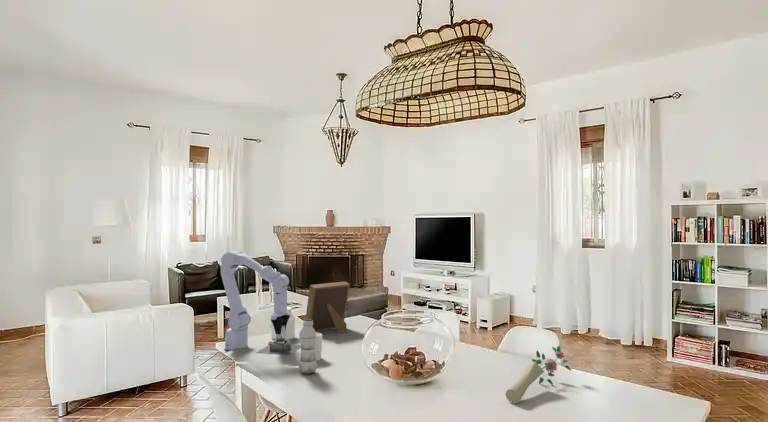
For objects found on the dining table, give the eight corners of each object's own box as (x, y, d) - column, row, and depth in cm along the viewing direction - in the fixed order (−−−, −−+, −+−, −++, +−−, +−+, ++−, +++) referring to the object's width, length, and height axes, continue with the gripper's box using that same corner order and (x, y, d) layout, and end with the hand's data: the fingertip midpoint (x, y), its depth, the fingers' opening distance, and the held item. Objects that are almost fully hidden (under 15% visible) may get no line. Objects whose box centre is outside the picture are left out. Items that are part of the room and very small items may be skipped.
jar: (267, 339, 235) (267, 308, 236) (280, 335, 244) (280, 305, 244) (284, 342, 229) (284, 311, 230) (298, 338, 238) (298, 307, 238)
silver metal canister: (274, 344, 214) (274, 326, 214) (278, 342, 218) (278, 324, 218) (282, 345, 213) (282, 326, 213) (286, 342, 217) (286, 324, 217)
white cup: (320, 361, 200) (320, 337, 201) (301, 361, 201) (301, 337, 201) (323, 355, 208) (323, 332, 208) (305, 355, 208) (305, 332, 209)
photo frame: (303, 331, 251) (304, 283, 251) (338, 325, 265) (339, 280, 265) (319, 337, 240) (319, 287, 240) (354, 331, 253) (355, 283, 253)
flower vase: (506, 422, 159) (546, 372, 186) (540, 421, 151) (576, 369, 178) (492, 388, 160) (534, 343, 186) (525, 385, 152) (564, 339, 178)
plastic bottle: (313, 376, 182) (313, 322, 182) (296, 374, 183) (296, 322, 184) (319, 370, 188) (319, 319, 188) (302, 369, 190) (302, 318, 190)
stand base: (255, 355, 209) (255, 344, 209) (271, 345, 225) (271, 335, 225) (289, 357, 206) (289, 346, 206) (304, 347, 221) (304, 337, 221)
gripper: (281, 305, 208) (281, 337, 207) (295, 299, 222) (295, 329, 222) (266, 304, 209) (266, 336, 209) (281, 299, 223) (281, 328, 223)
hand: (280, 332), depth 215 cm, fingers closed on silver metal canister, 4 cm apart
